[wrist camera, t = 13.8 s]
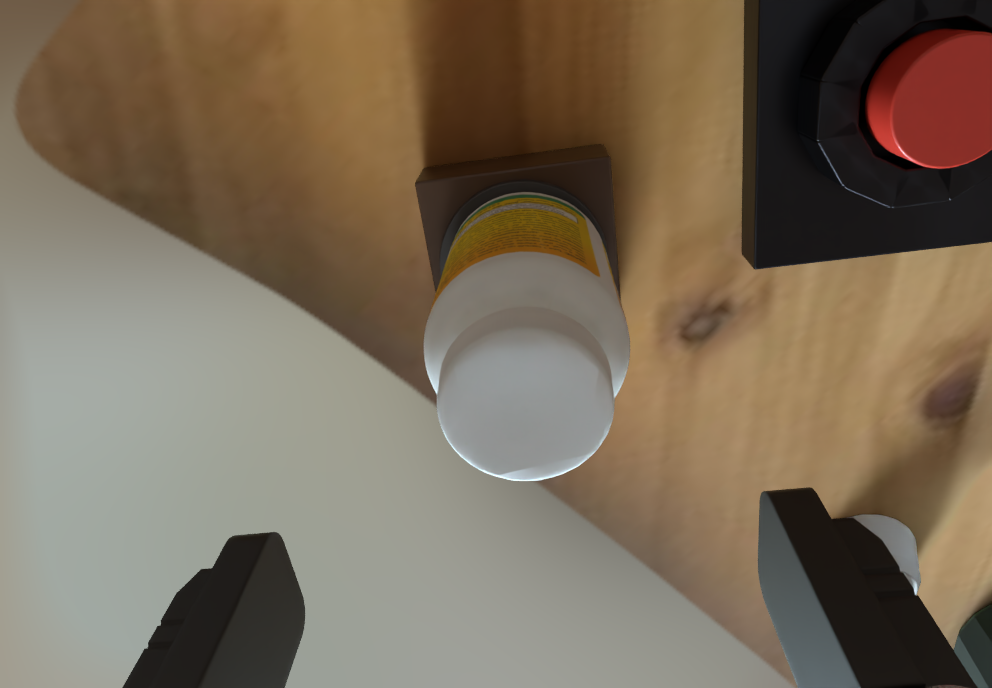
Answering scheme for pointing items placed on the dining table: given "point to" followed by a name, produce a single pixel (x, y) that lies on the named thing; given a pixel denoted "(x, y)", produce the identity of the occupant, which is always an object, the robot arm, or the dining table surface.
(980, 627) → the potion bottle
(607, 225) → the stand
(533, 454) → the supplement bottle
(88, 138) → the dining table surface
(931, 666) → the robot arm
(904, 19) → the button housing
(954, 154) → the button
